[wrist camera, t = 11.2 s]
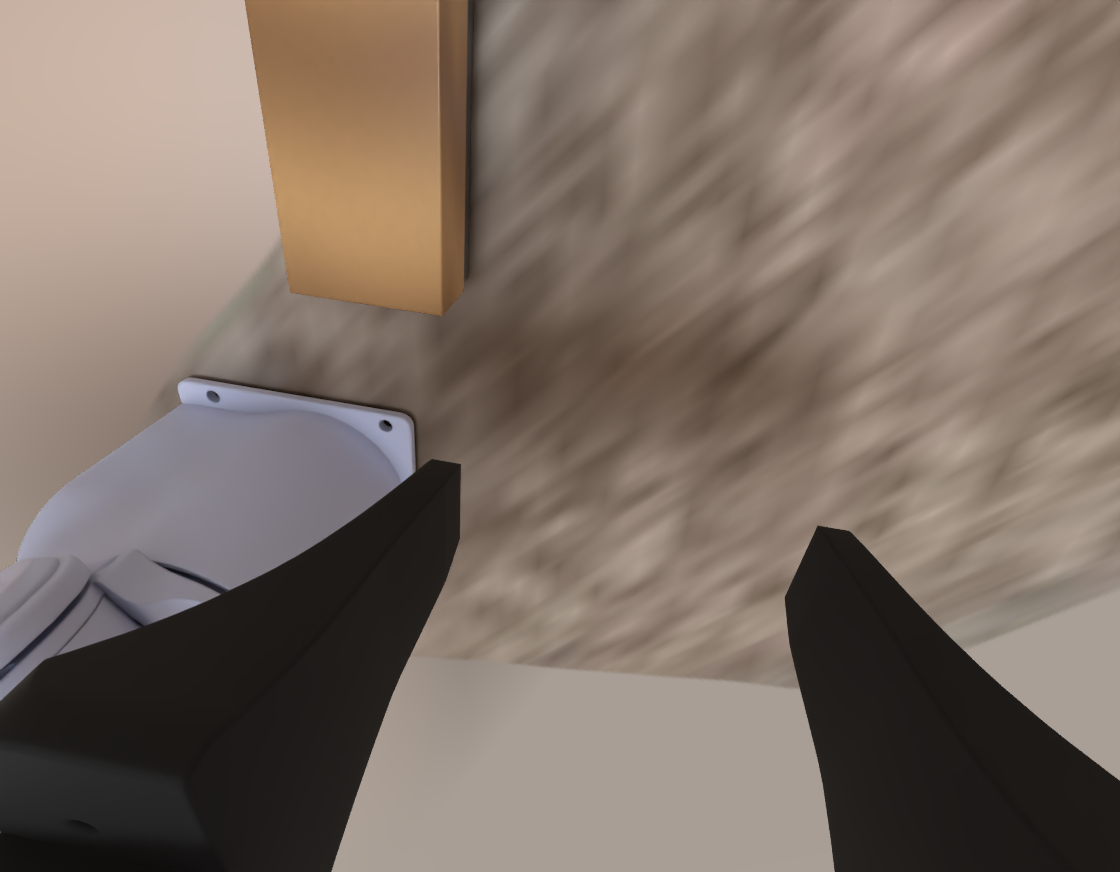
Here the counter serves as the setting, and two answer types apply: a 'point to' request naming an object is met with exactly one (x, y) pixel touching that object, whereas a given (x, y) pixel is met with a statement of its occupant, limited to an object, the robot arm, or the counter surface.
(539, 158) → the counter surface
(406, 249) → the scrub brush
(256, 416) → the robot arm
